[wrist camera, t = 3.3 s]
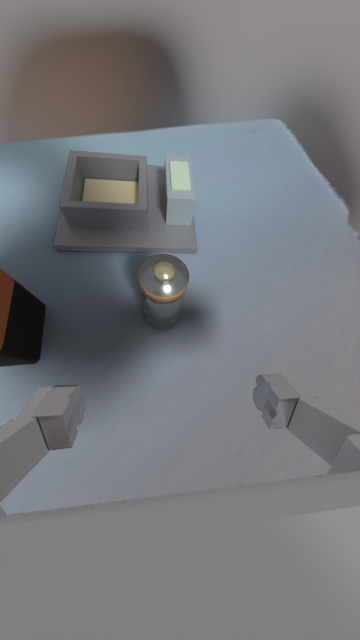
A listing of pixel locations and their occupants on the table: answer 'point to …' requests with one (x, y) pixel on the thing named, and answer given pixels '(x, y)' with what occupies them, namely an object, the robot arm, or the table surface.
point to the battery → (19, 323)
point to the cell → (162, 289)
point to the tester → (126, 204)
